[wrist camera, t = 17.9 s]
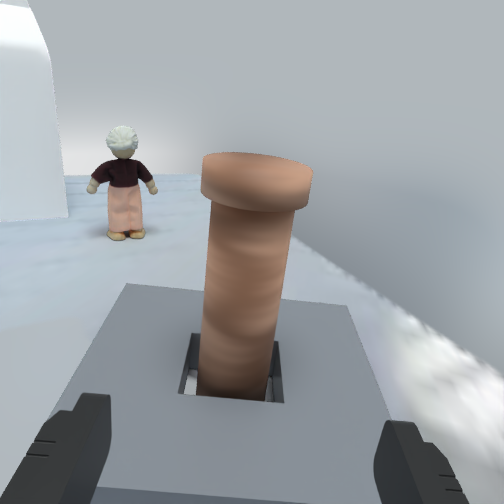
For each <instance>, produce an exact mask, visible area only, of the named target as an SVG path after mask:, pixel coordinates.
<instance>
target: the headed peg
mask: <svg viewBox="0 0 504 504" xmlns="http://www.w3.org/2000/svg"><path fill="white" fill-rule="evenodd" d="M312 176H313V170H312V169H311V168H310V167H308V166H306V165H304V164H301V163H299V162H296V161H292V160H288V159H284V158H280V157H275V156H269V155H262V154H253V153H238V152H225V153H224V152H223V153H213V154H209V155H206V156H204V158H203V163H202V177H201V193H202V194H203V195H204V196H205V197H206V198H208V199H210V200H212V201H211V214H210V226H209V239H208V251H207V264H206V276H205V288H204V301H203V313H202V326H201V338H200V351H199V363H198V376H197V389H196V395H197V396H208V397H219V398H230V399H241V400H252V401H263V402H264V400H265V394H266V387H267V381H268V375H269V369H270V362H271V356H272V350H273V344H274V337H275V331H276V325H277V319H278V312H279V306H280V300H281V294H282V287H283V281H284V275H285V269H286V262H287V256H288V250H289V244H290V237H291V231H292V225H293V218H294V213H295V210H298V209H301V208H303V207H305V206H306V205H307V204H308V199H309V193H310V187H311V181H312Z"/></svg>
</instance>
